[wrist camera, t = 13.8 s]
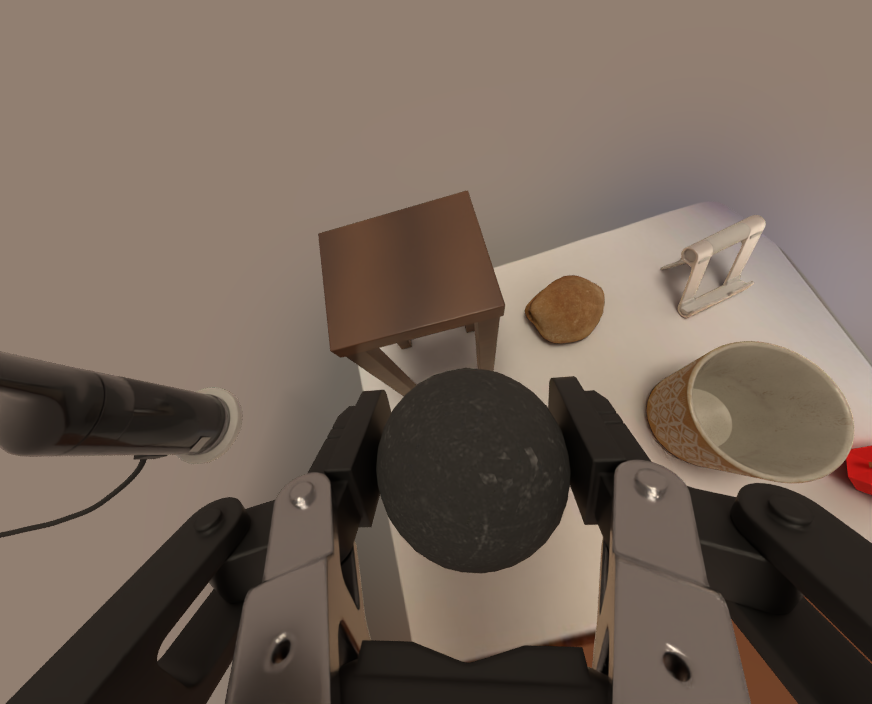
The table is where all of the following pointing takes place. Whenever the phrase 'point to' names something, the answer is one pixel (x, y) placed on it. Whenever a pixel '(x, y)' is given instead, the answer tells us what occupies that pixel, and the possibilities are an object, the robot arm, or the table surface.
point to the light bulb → (473, 470)
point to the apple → (860, 468)
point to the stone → (566, 309)
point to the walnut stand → (409, 284)
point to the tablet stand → (699, 260)
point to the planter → (754, 414)
